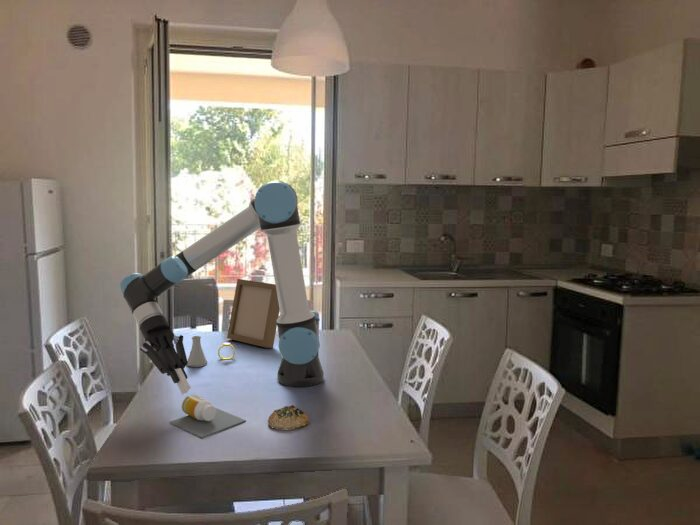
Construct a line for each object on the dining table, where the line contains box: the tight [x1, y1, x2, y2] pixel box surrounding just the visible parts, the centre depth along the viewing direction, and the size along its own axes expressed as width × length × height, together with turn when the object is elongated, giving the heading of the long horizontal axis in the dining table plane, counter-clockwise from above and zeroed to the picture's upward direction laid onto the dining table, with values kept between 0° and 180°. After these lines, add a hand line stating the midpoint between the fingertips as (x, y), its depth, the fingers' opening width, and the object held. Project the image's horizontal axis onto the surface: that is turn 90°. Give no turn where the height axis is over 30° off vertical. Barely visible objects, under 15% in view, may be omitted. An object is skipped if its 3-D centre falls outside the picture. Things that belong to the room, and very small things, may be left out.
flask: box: [186, 335, 208, 368], centre depth 199 cm, size 7×7×10 cm
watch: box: [217, 342, 236, 361], centre depth 206 cm, size 6×3×6 cm, turn 103°
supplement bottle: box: [181, 394, 217, 421], centre depth 151 cm, size 5×5×10 cm
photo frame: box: [226, 278, 280, 349], centre depth 230 cm, size 15×22×25 cm
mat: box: [169, 407, 247, 439], centre depth 150 cm, size 14×14×1 cm
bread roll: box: [267, 404, 310, 431], centre depth 151 cm, size 11×11×5 cm
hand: (186, 391), depth 154 cm, fingers closed
